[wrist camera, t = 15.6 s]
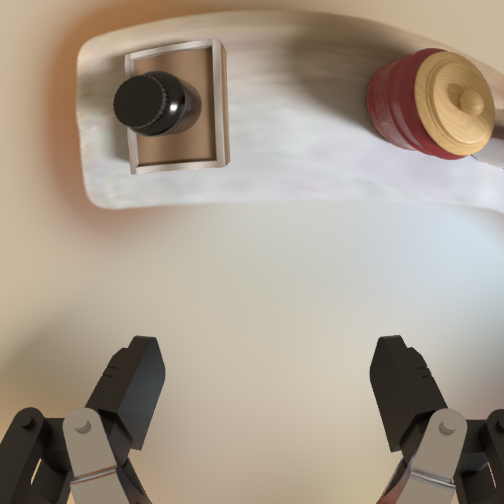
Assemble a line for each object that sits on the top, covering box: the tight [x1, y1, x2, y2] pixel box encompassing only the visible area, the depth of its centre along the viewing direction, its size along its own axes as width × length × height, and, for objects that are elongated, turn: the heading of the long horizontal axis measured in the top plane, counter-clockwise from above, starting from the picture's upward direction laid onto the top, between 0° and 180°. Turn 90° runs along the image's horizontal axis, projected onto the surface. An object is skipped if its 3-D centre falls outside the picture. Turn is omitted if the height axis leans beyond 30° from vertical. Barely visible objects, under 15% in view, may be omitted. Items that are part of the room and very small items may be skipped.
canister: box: [366, 48, 495, 160], centre depth 26 cm, size 13×13×18 cm
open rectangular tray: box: [125, 39, 230, 174], centre depth 34 cm, size 12×16×6 cm
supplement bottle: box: [113, 70, 202, 137], centre depth 26 cm, size 7×7×12 cm
